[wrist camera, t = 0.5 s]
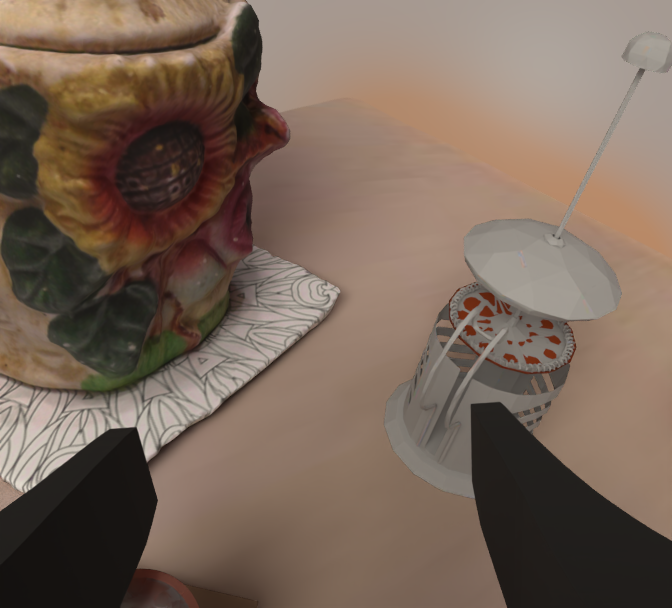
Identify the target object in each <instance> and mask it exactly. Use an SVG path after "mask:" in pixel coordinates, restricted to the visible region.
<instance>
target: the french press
mask: <svg viewBox="0 0 672 608" xmlns="http://www.w3.org/2000/svg"><path fill="white" fill-rule="evenodd" d="M622 58H623V59H624V60H625V61H626V62H628V63H630V64H632V65H634V66H637V67H639V68H640V69H639V71H638V73H637V75H636V77H635V79H634V81H633V83H632V85H631V87H630V89H629V91H628V93H627V95H626V97H625V98H624V101H623V102H622V104H621V106H620V108H619V110H618V112H617V114H616V116H615V118H614V120H613V122H612V124H611V126H610V128H609V130H608V132H607V134H606V136H605V138H604V140H603V142H602V144H601V146H600V148H599V150H598V152H597V154H596V156H595V157H594V160H593V162H592V163H591V165H590V168H589V169H588V171H587V173H586V175H585V177H584V179H583V181H582V183H581V185H580V187H579V189H578V191H577V193H576V195H575V197H574V199H573V201H572V203H571V205H570V207H569V209H568V211H567V213H566V215H565V217H564V218H563V220H562V222H561V224H560V226H559V227H558V226H554V225H551V224H547V223H543V222H539V221H536V220H532V219H508V220H493V221H489V222H486V223H482V224H479V225H475V226H474V227H473V228H472V229H471V231H470V232H469V233H468V234H467V235H466V236H465V237H464V257H465V262H466V263H467V265H468V267H469V268H470V270H471V272H472V273H473V275H474V277H475V278H476V280H477V281H478V282H479V283H478V282H475V283H472V284H470V285H467V286H464V287H462V288H459V289H458V290H457V291H456V292H455V294H454V295H453V296H452V298H451V299H450V300H449V303H448V304H447V305H446V306H445V307H444V308H443V309H442V311H441V312H440V313H439V315H438V317H437V319H436V322H435V324H434V327H433V330H432V333H431V334H430V337H429V340H428V343H427V346H426V348H425V349H424V352H423V354H422V357H421V361H420V362H419V364H418V367H417V369H416V373H415V375H414V377H413V379H411V380H409V381H407V382H405V383H403V384H401V385H399V386H398V387H397V389H396V390H395V391H394V393H393V394H392V395H391V397H390V398H389V399H388V401H387V402H386V411H385V420H384V426H385V429H386V432H387V434H388V437H389V440H390V443H391V446H392V448H393V450H394V452H395V453H396V454H397V455H398V456H399V457H400V459H401V460H402V461H403V462H404V463H405V464H406V466H407V467H408V468H409V469H410V470H411V471H412V473H413V474H415V475H417V476H418V477H420V478H421V479H423V480H425V481H426V482H428V483H430V484H431V485H433V486H435V487H436V488H438V489H439V490H441V491H444V492H448V493H452V494H456V495H461V496H465V497H469V498H473V499H474V498H475V495H474V490H473V485H472V460H471V404H475V403H489V402H501V403H502V404H503V405H504V406H506V408H507V409H508V410H509V411H510V412H511V413H512V414H513V415H514V416H515V417H516V418H517V419H518V420H519V421H520V422H521V423H525V422H527V425H528V427H525V428H526V429H527V430H528V431H529V432H530V433H531V434H533V429H534V428H536V427H538V425H539V423H540V421H541V418H542V415H543V414H545V413H547V411H548V409H549V407H550V405H551V400H553V399H555V398H556V397H557V396H558V394H559V392H560V391H561V389H562V387H563V385H564V384H565V381H566V378H567V374H568V371H569V368H570V365H569V363H570V362H571V359H572V357H573V354H574V352H575V350H576V344H575V340H574V336H573V331H572V329H571V328H570V327H569V325H568V324H567V322H566V321H589V320H594V319H598V318H600V317H602V316H604V315H606V314H608V313H610V312H612V311H614V310H616V308H617V306H618V303H619V300H620V298H621V295H622V292H621V289H620V286H619V283H618V280H617V277H616V274H615V272H614V271H613V270H612V269H611V267H610V266H609V265H608V263H607V262H606V261H605V260H604V258H603V257H602V256H601V254H600V253H599V252H598V251H596V250H595V249H593V248H592V247H590V246H589V245H587V244H586V243H584V242H583V241H581V240H580V239H578V238H577V237H575V236H574V235H572V234H571V233H570V232H568V231H567V230H565V229H564V227H565V225H566V223H567V221H568V219H569V217H570V215H571V213H572V211H573V209H574V207H575V205H576V203H577V201H578V199H579V197H580V195H581V194H582V192H583V190H584V188H585V186H586V184H587V182H588V180H589V178H590V176H591V174H592V172H593V170H594V168H595V166H596V164H597V162H598V160H599V158H600V157H601V155H602V153H603V151H604V149H605V147H606V145H607V143H608V141H609V139H610V137H611V135H612V133H613V131H614V130H615V128H616V126H617V124H618V122H619V120H620V118H621V116H622V114H623V112H624V110H625V108H626V106H627V104H628V102H629V100H630V99H631V97H632V95H633V93H634V90H635V89H636V87H637V85H638V83H639V81H640V79H641V77H642V75H643V73H644V71H645V70H648V71H653V72H660V73H665V72H668V71H669V69H670V67H671V66H672V43H671V41H670V40H669V39H668V38H667V36H664V35H662V34H660V33H654V32H646V33H643V34H641V35H638V36H636V37H634V38H633V39H631V40H630V41H629V43H628V45H627V47H626V49H625V51H624V53H623V55H622ZM441 319H443V320H450V322H451V324H452V326H453V328H454V329H453V328H445V327H437V328H436V324H437V323H438V322H439V321H440V320H441ZM437 335H444V336H449V337H451V338H450V339H449V341H448V342H447V343H446V342H439V340H438V338H437ZM456 338H459V339H460V340H462V341H463V342H464V343H465V344H466V345H467V346H465V345H458V344H452V343H453V342H454V341H455V339H456ZM428 344H429V345H428ZM428 350H429V355H427V351H428ZM447 351H452V352H459V353H469V354H477V355H476V357H475V360H468V359H458V358H451V357H447V356H446V353H447ZM423 355H424V357H423ZM422 358H423V359H422ZM422 364H423V368H422V369H420V368H421V365H422ZM457 366H464V367H471V368H470V370H469V372H468V373H466V372H460V370H461V369H460V368H459V367H457ZM417 370H418V371H417ZM541 373H549V375H550V378H551V381H552V383H553V386H554V391H551V392H549V391H548V389H547V386H546V383H545V381H544V379H543V376H542V374H541ZM533 376H535V379H536V381H537V383H538V385H539V388H540V390H541V393H542V394H537V395H536V393H535V391H534V388H533V386H532V384H531V380H532V378H533ZM526 389H527V392H528V394H529V395H523V393H524V392H525V390H526ZM543 404H545V409H543V410H541V407H540V405H543ZM531 408H534V410H535V413H533V414H531V413H530V410H529V409H531ZM521 411H523V413H524V415H525V416H524V417H520V416H519V414H518V412H521ZM534 419H537V422H536V423H533V420H534ZM522 425H523V424H522Z"/></svg>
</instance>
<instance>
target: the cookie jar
mask: <svg viewBox="0 0 672 608" xmlns="http://www.w3.org/2000/svg"><path fill="white" fill-rule="evenodd" d="M261 55H262V38H261V34H260V31H259V20H258V18H257V15H256V14H255V12H254V10H253V8H252V6H251V5H249V4H248V3H247V1H246V0H0V476H1V477H2V479H3V481H4V482H6V483H8V484H10V485H12V487H13V488H14V489H16V490H19V491H21V492H23V493H26V492H28V491H29V490H30V489H32V488H33V487H34V486H36V485H37V484H38V483H39V482H41V481H42V480H43V479H45V478H46V477H47V476H48V475H50V474H51V473H52V472H54V471H55V470H56V469H57V468H59V467H60V466H61V465H62V464H64V463H65V462H66V461H68V460H69V459H70V458H71V457H73V456H74V455H75V454H76V453H78V452H79V451H80V450H82V449H83V448H84V447H85V446H87V445H88V444H89V443H91V442H92V441H93V440H95V439H96V438H97V437H99V436H100V435H101V434H103V433H104V432H106V431H107V430H109V429H114V428H129V427H137V430H138V433H139V437H140V440H141V444H142V447H143V451H144V454H145V458H146V461H147V462H148V461H149V460H150V459H151V458H153V457H154V456H156V455H157V454H158V453H159V451H160V449H161V447H162V446H164V445H165V444H167V443H168V442H170V441H171V440H173V439H174V438H175V437H177V436H178V435H179V434H180V433H181V432H183V431H184V430H185V429H186V428H187V427H189V426H191V425H193V424H195V423H196V422H198V421H200V420H202V419H204V418H206V417H207V416H209V415H211V414H212V413H213V412H214V411H215V410H216V409H217V408H218V407H219V406H220V405H221V404H222V403H223V402H224V401H225V400H226V399H227V398H228V397H230V396H231V395H232V394H233V393H235V392H236V391H237V390H239V389H240V388H241V387H243V386H244V385H245V384H246V383H248V382H249V381H250V380H251V379H253V378H254V377H255V376H256V375H257V374H258V373H260V372H261V371H262V370H263V369H265V368H266V367H267V366H268V365H269V364H271V363H272V362H273V361H274V360H275V359H276V358H278V357H279V356H280V355H281V354H282V353H284V352H285V351H286V350H287V349H288V348H290V347H291V346H292V345H293V344H294V343H295V342H297V341H298V340H299V339H300V338H302V337H303V336H304V335H305V334H306V333H307V332H308V331H310V330H311V329H313V328H314V327H316V326H317V325H318V324H320V323H321V322H322V321H323V320H324V319H325V318H326V317H327V316H328V314H329V313H330V311H331V310H332V308H333V306H334V304H335V301H336V299H337V297H338V295H339V293H340V290H339V288H338V287H336V286H334V285H332V284H330V283H329V282H328V281H326V280H321V279H320V278H319V277H317V276H316V275H314V274H312V273H310V272H309V271H307V270H306V269H304V268H303V267H301V266H299V265H297V264H293V263H291V262H289V261H287V260H282V259H281V258H279V257H278V256H275V257H272V256H271V254H270V253H269V252H268V251H266V250H264V249H261V248H258V247H256V246H254V245H253V243H252V241H253V236H252V231H251V224H252V221H251V208H252V191H251V186H250V181H249V177H250V174H251V172H252V170H253V169H254V167H255V166H256V165H257V164H258V163H259V162H260V161H261V160H262V159H263V158H264V157H266V156H268V155H270V154H271V153H272V152H273V151H275V150H277V149H280V148H282V147H284V146H285V145H286V144H287V143H288V142H289V140H290V129H289V127H288V125H287V123H286V122H285V120H284V119H283V118H282V116H281V115H280V114H279V112H278V111H277V110H276V109H274V108H271V107H269V106H267V105H265V104H263V103H262V102H261V101H260V100H259V99H258V97H257V93H256V87H257V84H258V77H259V72H260V70H261Z"/></svg>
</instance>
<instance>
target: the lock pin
mask: <svg viewBox="0 0 672 608" xmlns="http://www.w3.org/2000/svg"><path fill="white" fill-rule="evenodd" d="M120 608H199V606H198V604H197V601H196V599H195V598H194V596H193V595H192V593H191V592H190V591H189V589H188V588H187V587H186V586H185V585H184V584H183V583H181V582H180V581H179V580H177V579H176V578H174V577H173V576H171V575H168V574H166V573H164V572H160V571H157V570H151V569H136V570H135V573H134V575H133V578H132V580H131V582H130V585H129V587H128V589H127V592H126V594H125V596H124V599H123V601H122V604H121V606H120Z"/></svg>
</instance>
